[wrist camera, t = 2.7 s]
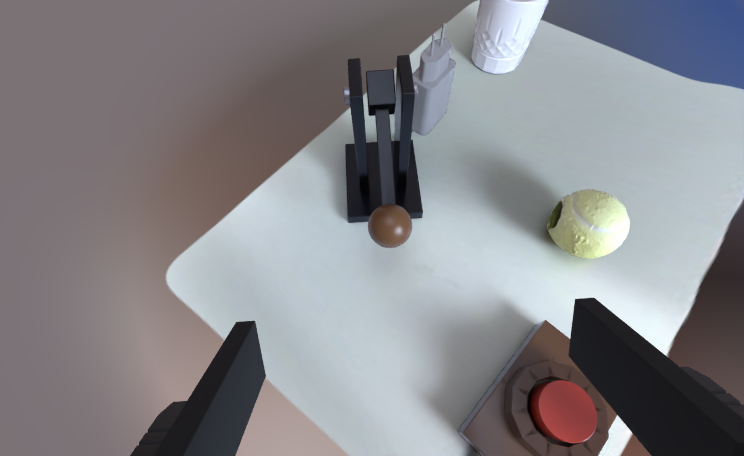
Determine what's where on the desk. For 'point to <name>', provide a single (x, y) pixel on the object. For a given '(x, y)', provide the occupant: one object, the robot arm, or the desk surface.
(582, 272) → the desk surface
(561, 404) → the button
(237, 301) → the desk surface
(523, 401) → the button block
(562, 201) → the tennis ball
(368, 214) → the bracket
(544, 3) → the white cup
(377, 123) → the lever
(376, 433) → the desk surface
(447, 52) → the power adapter
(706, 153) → the desk surface
